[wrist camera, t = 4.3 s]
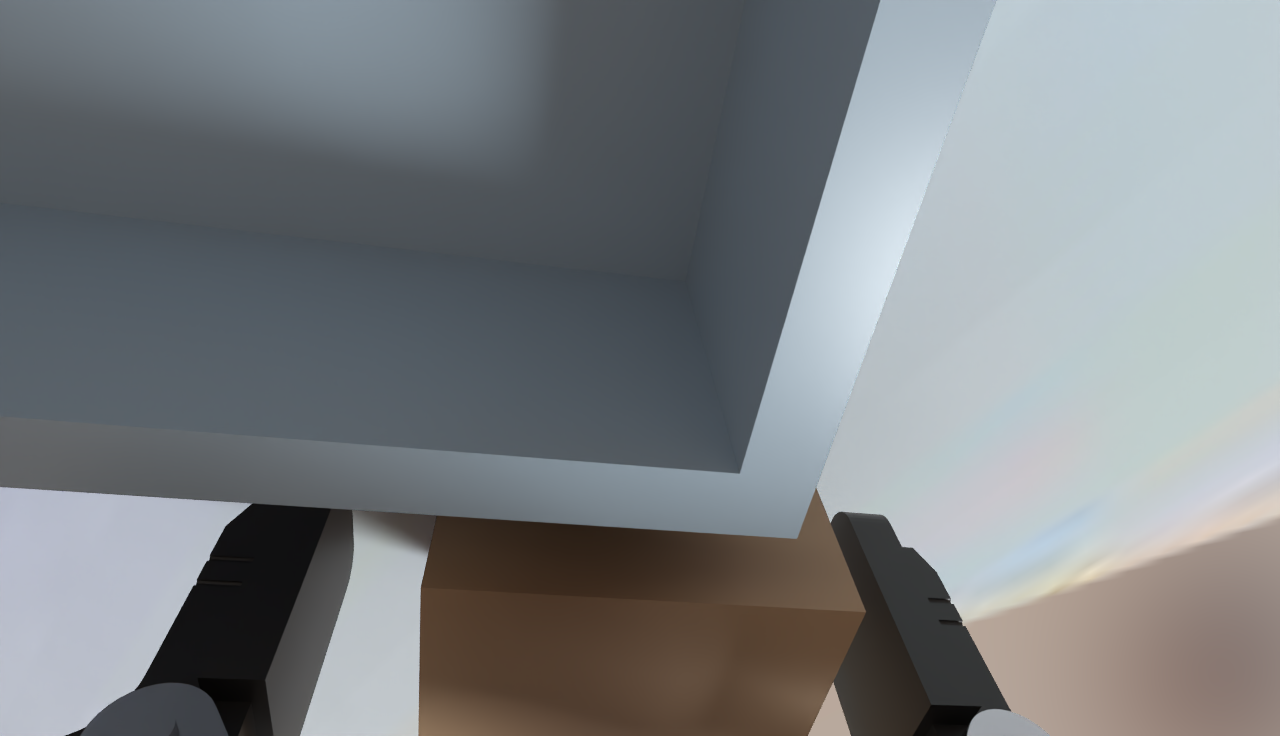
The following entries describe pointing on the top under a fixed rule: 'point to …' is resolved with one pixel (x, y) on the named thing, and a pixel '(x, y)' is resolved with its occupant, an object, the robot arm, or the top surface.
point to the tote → (458, 247)
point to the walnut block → (630, 629)
